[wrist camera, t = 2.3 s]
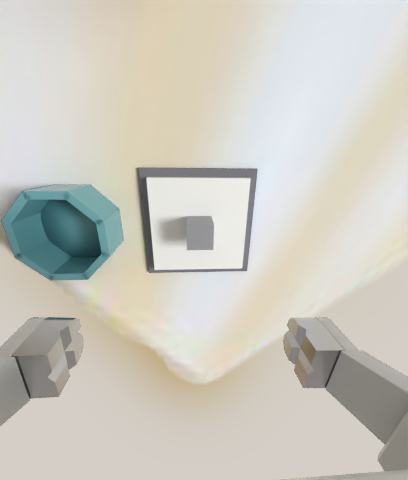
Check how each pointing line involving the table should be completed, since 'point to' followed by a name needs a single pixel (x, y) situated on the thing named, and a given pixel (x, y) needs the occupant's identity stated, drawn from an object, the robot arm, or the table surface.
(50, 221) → the bowl
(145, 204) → the mat
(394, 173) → the table surface
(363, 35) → the table surface
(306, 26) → the table surface
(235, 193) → the cover sheet
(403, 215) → the table surface
